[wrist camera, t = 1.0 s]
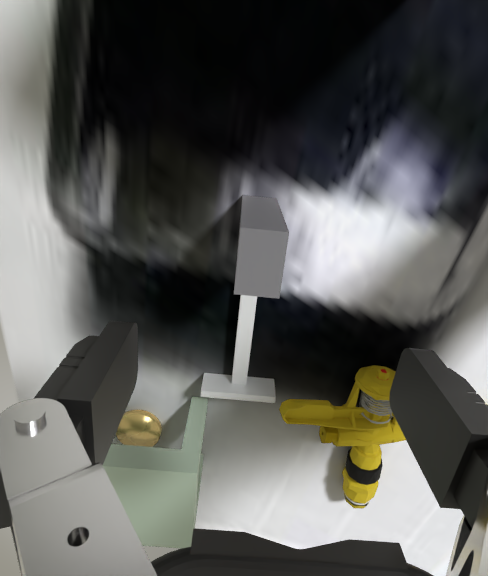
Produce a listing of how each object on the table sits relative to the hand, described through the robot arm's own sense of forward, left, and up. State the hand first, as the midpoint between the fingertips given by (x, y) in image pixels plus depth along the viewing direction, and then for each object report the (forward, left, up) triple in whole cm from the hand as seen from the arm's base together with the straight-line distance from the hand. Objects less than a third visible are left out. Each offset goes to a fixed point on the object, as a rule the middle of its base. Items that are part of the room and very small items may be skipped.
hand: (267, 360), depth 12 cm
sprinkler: (-13, +18, -18) cm, 29 cm away
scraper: (0, +6, -18) cm, 19 cm away
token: (+8, +20, -18) cm, 28 cm away
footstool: (+8, +20, -18) cm, 28 cm away
